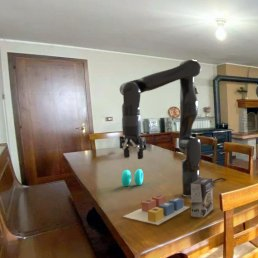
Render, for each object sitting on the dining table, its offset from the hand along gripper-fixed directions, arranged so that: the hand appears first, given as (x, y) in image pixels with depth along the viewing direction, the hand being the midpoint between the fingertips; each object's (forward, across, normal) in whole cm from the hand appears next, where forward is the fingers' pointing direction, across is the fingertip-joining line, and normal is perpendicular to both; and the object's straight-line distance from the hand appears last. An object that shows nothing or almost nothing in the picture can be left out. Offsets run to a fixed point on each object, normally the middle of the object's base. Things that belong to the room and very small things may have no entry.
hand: (133, 158), depth 118 cm
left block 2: (+25, -8, -6) cm, 27 cm away
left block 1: (+25, -8, 0) cm, 26 cm away
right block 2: (+25, -19, -6) cm, 32 cm away
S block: (+25, -19, +6) cm, 32 cm away
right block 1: (+25, -19, 0) cm, 31 cm away
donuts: (+26, +31, -24) cm, 47 cm away
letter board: (+25, -14, 0) cm, 29 cm away
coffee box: (+26, -34, -6) cm, 43 cm away
